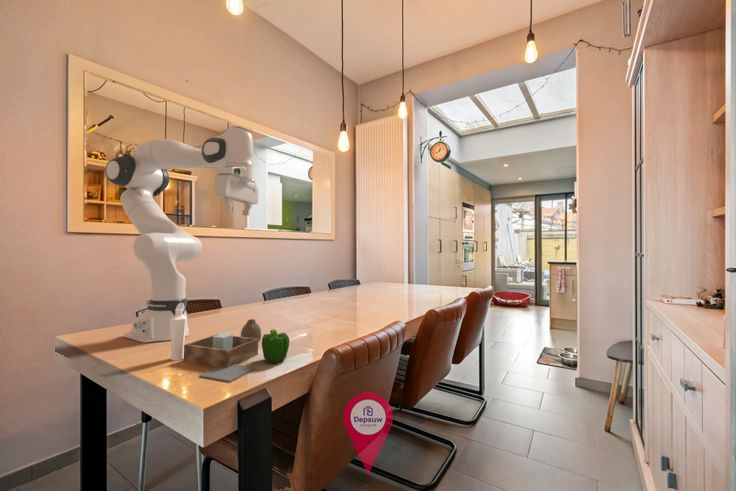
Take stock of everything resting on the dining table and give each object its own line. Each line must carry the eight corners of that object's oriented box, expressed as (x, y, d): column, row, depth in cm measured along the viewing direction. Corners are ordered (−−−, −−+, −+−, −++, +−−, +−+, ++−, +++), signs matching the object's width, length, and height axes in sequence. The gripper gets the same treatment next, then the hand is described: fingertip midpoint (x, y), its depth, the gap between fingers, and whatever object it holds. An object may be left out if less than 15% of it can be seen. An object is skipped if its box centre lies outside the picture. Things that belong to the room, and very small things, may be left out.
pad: (199, 376, 86) (199, 375, 86) (226, 364, 95) (226, 363, 95) (230, 382, 83) (230, 380, 83) (255, 368, 92) (255, 367, 92)
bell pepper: (276, 354, 105) (277, 323, 105) (294, 359, 101) (295, 327, 101) (254, 361, 98) (255, 328, 98) (272, 367, 94) (273, 332, 94)
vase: (264, 342, 118) (264, 318, 118) (255, 348, 111) (256, 322, 111) (246, 341, 119) (246, 317, 119) (236, 346, 112) (237, 321, 112)
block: (212, 359, 99) (212, 336, 99) (221, 355, 103) (222, 333, 103) (222, 361, 98) (223, 337, 98) (232, 357, 102) (232, 334, 102)
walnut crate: (183, 361, 96) (184, 344, 96) (217, 348, 109) (217, 333, 109) (227, 369, 92) (228, 351, 92) (257, 354, 104) (258, 338, 105)
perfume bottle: (189, 357, 100) (191, 309, 100) (174, 361, 96) (176, 311, 96) (181, 354, 102) (183, 307, 103) (166, 358, 99) (168, 309, 99)
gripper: (248, 181, 124) (247, 217, 124) (211, 167, 104) (210, 210, 104) (263, 180, 123) (262, 217, 123) (228, 166, 103) (227, 210, 103)
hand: (237, 214), depth 113 cm, fingers open, 8 cm apart
